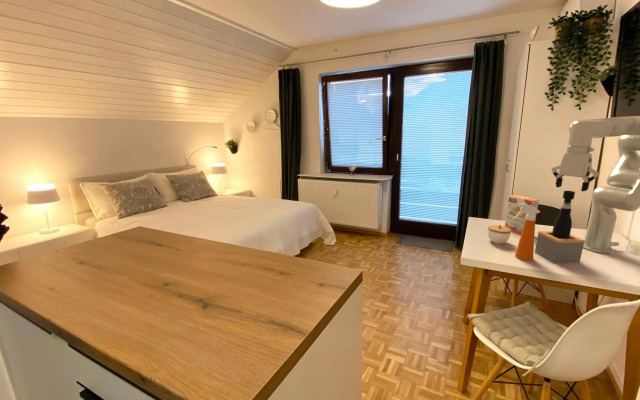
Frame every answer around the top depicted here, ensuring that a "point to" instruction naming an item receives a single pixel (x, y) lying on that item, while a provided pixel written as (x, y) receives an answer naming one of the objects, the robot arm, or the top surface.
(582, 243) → the sleeve
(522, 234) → the spray bottle
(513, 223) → the cracker box
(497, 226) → the lidded jar
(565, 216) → the black water bottle
